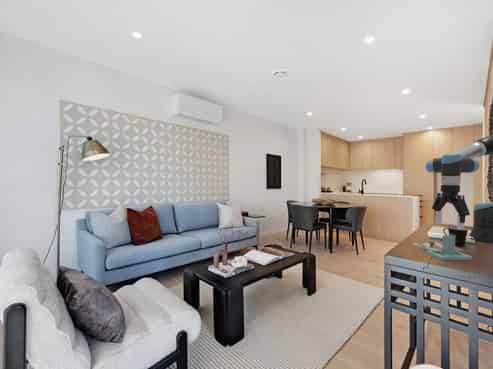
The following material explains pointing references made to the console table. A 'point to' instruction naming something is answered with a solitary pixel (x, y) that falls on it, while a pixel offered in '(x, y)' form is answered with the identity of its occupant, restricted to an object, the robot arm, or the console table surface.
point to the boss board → (433, 246)
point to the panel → (448, 257)
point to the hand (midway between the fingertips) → (448, 226)
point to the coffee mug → (458, 235)
